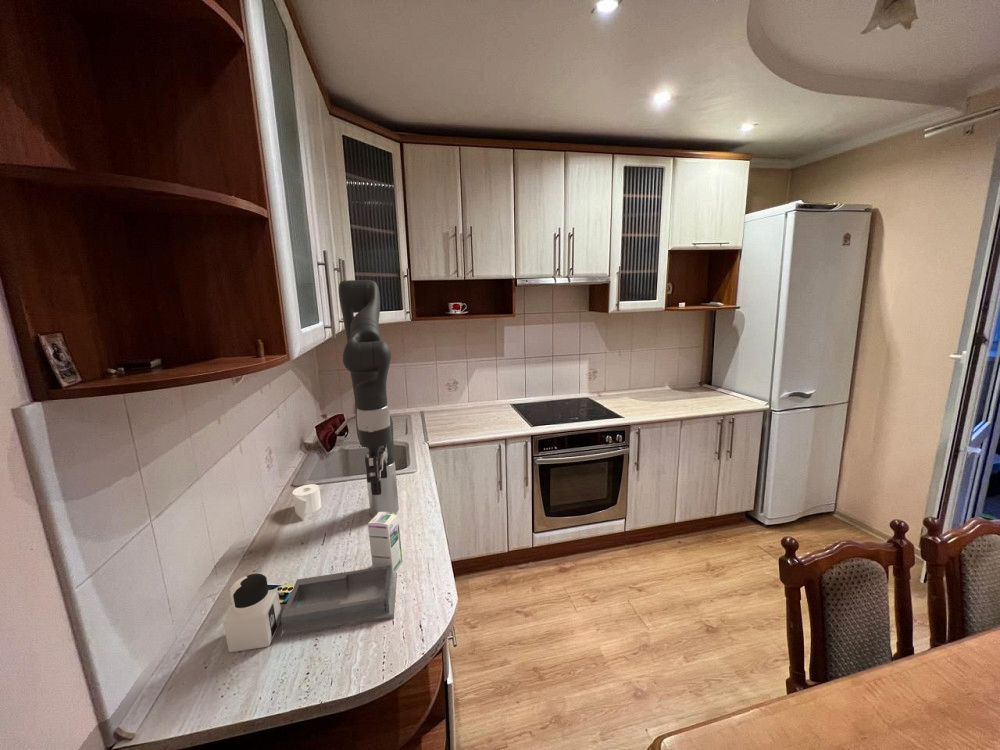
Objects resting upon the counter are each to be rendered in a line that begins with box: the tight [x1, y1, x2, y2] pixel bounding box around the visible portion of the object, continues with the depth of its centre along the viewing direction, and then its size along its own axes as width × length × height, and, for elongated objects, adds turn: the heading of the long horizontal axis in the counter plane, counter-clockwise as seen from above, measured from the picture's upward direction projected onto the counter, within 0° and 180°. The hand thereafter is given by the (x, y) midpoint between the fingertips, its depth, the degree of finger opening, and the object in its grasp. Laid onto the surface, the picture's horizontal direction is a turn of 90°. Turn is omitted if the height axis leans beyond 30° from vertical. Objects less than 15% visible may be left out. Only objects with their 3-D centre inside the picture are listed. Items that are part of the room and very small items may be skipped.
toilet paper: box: [292, 483, 322, 522], centre depth 136 cm, size 8×11×7 cm
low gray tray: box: [280, 565, 398, 639], centre depth 93 cm, size 14×23×4 cm, turn 102°
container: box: [223, 573, 283, 653], centre depth 84 cm, size 8×8×13 cm
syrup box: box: [367, 512, 404, 573], centre depth 105 cm, size 6×6×14 cm
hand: (380, 485), depth 100 cm, fingers open, 8 cm apart
